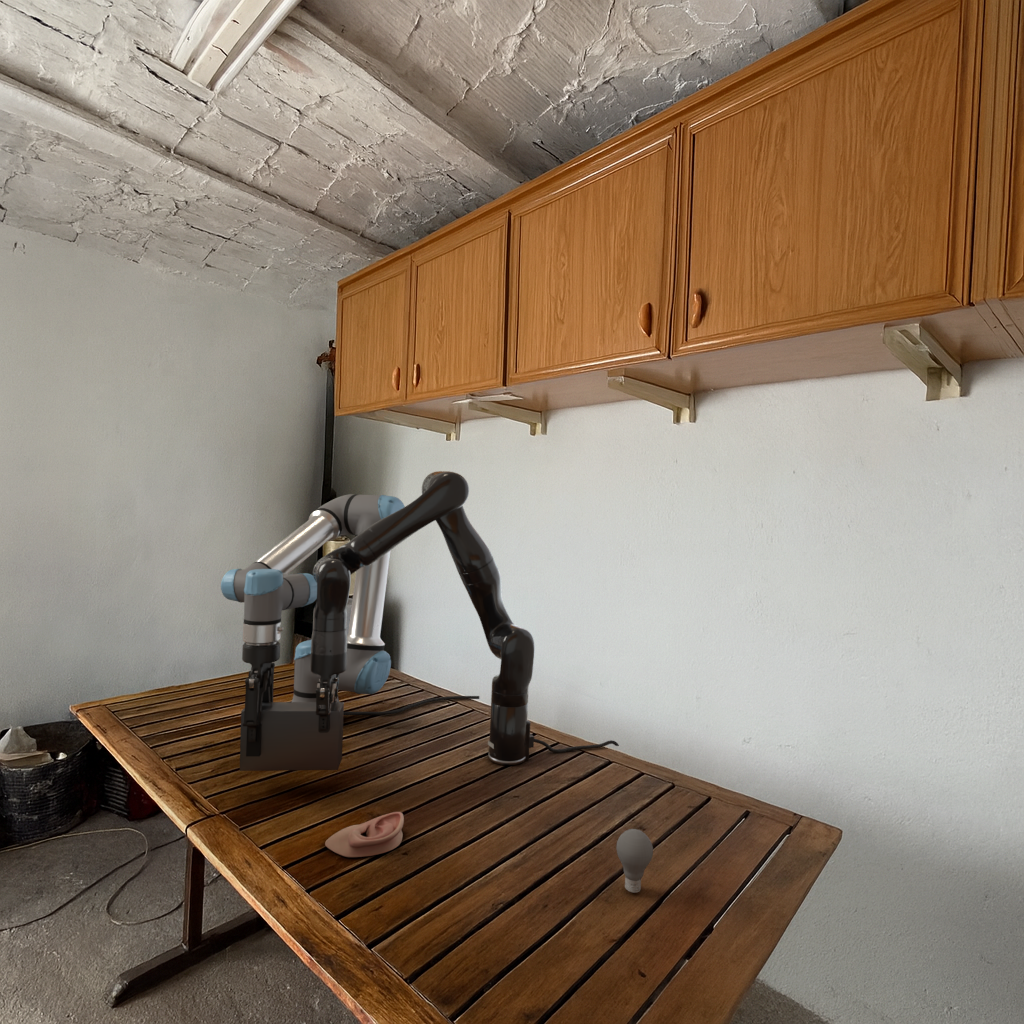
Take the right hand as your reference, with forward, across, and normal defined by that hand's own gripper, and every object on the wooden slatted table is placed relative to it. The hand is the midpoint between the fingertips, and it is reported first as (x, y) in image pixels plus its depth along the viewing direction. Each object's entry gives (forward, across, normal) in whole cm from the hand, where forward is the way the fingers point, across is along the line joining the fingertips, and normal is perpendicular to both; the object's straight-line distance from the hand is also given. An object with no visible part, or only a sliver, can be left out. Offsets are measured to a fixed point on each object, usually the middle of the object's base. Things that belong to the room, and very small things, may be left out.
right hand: (326, 726), depth 137 cm
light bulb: (+14, -38, -57) cm, 70 cm away
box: (+8, 0, +7) cm, 11 cm away
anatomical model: (+14, -22, -11) cm, 28 cm away
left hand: (+5, 0, +14) cm, 15 cm away
